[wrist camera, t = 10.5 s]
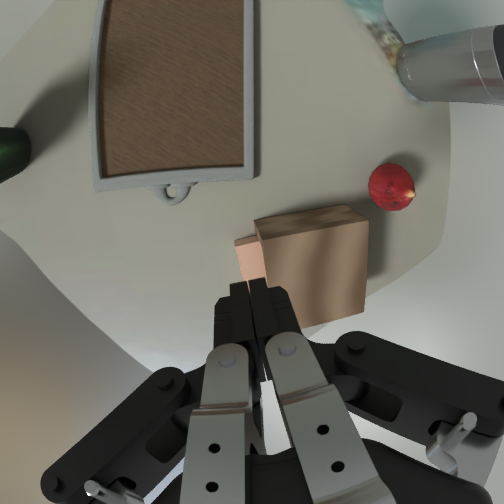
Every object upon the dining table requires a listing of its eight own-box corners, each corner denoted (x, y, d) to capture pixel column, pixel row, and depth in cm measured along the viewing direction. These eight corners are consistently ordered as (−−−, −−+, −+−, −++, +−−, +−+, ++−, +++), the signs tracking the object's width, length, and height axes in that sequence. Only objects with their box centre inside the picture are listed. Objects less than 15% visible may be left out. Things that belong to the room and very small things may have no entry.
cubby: (344, 204, 34) (368, 220, 28) (345, 287, 39) (363, 311, 34) (253, 220, 33) (262, 240, 27) (267, 305, 39) (276, 334, 33)
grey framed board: (253, -27, 19) (254, 202, 31) (252, -21, 20) (252, 199, 33) (98, -8, 17) (97, 213, 29) (103, -3, 18) (101, 210, 31)
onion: (372, 210, 35) (406, 231, 27) (349, 179, 33) (383, 194, 25) (399, 182, 33) (436, 197, 26) (378, 151, 31) (416, 159, 24)
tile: (331, 216, 35) (338, 222, 33) (334, 260, 38) (341, 267, 36) (233, 239, 34) (235, 246, 32) (244, 282, 37) (246, 292, 35)
